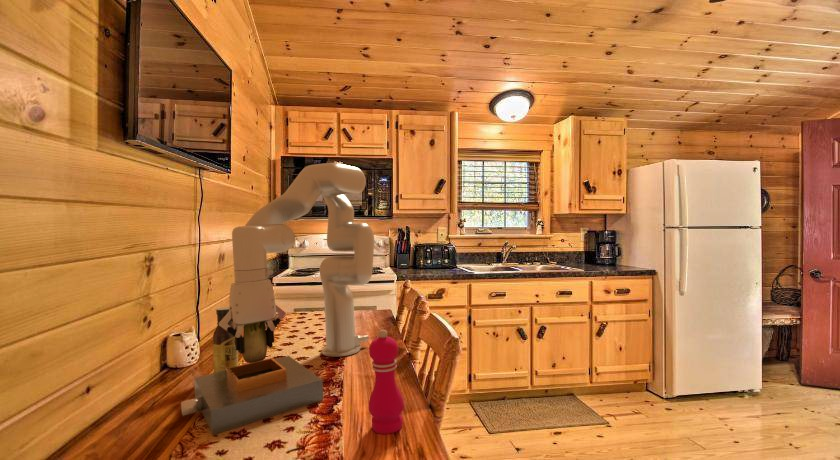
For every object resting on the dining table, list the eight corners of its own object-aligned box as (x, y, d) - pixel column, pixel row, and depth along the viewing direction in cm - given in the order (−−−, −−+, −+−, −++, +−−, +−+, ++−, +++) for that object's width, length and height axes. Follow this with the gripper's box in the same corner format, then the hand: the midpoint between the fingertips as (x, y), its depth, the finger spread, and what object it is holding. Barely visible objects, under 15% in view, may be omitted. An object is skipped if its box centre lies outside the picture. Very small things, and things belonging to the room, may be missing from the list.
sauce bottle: (229, 384, 111) (225, 311, 110) (209, 383, 112) (205, 311, 112) (244, 375, 117) (240, 306, 117) (225, 374, 118) (221, 306, 118)
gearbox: (289, 373, 117) (288, 347, 117) (323, 400, 98) (321, 369, 97) (176, 402, 100) (174, 371, 100) (190, 441, 81) (188, 404, 81)
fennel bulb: (267, 356, 104) (264, 309, 103) (269, 362, 99) (266, 313, 99) (242, 360, 101) (239, 312, 101) (243, 366, 97) (240, 316, 96)
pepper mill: (370, 419, 87) (365, 326, 87) (404, 416, 88) (399, 324, 87) (368, 437, 80) (364, 335, 79) (405, 434, 80) (401, 333, 80)
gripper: (281, 271, 108) (285, 338, 108) (209, 279, 98) (213, 353, 98) (291, 273, 102) (295, 344, 102) (215, 282, 92) (220, 361, 92)
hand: (255, 348), depth 100 cm, fingers closed on fennel bulb, 6 cm apart
